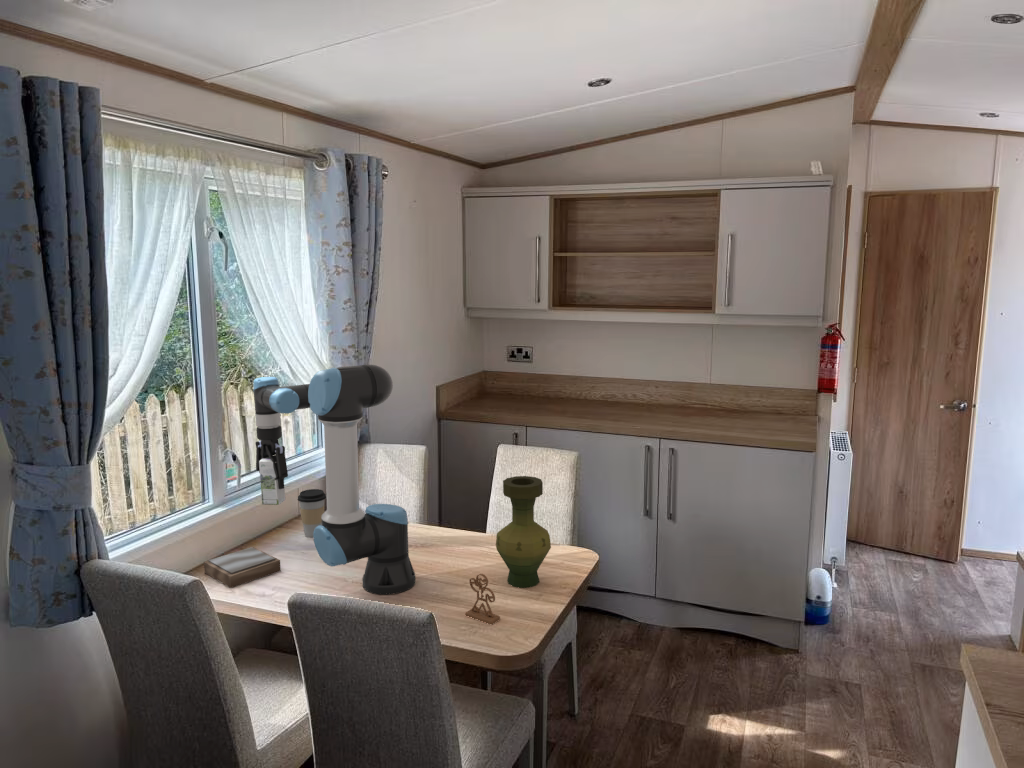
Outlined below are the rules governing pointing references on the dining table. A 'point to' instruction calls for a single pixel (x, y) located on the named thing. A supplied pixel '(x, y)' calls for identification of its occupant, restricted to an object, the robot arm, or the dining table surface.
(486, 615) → the gingerbread man figurine
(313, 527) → the coffee cup
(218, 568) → the stand
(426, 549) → the dining table surface
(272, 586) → the dining table surface
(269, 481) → the syrup box
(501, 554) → the vase
